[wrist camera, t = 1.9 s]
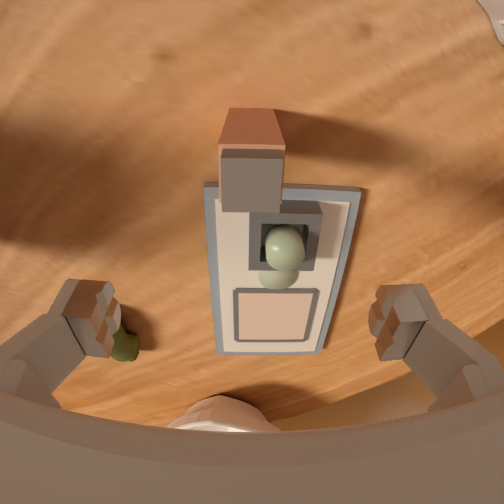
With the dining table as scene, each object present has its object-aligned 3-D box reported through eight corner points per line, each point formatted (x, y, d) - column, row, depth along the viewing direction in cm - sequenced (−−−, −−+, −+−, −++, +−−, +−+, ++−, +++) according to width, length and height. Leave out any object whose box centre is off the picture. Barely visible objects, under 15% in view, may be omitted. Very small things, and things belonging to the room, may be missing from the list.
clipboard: (358, 187, 28) (362, 194, 27) (319, 348, 43) (320, 356, 41) (204, 182, 28) (202, 189, 27) (217, 348, 42) (216, 356, 41)
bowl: (212, 365, 45) (208, 416, 38) (304, 404, 53) (308, 445, 47) (148, 403, 54) (141, 442, 47) (231, 433, 62) (230, 468, 56)
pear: (97, 332, 32) (146, 368, 39) (106, 295, 36) (150, 334, 43) (67, 339, 33) (116, 372, 40) (76, 304, 37) (120, 341, 44)
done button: (303, 224, 27) (307, 240, 25) (299, 254, 29) (302, 271, 27) (265, 223, 27) (267, 239, 25) (264, 253, 29) (265, 270, 27)
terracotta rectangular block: (273, 108, 24) (288, 154, 15) (271, 148, 26) (283, 217, 17) (229, 108, 24) (215, 153, 15) (229, 147, 26) (217, 216, 17)
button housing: (317, 200, 28) (323, 214, 26) (309, 255, 31) (313, 270, 29) (249, 198, 28) (249, 212, 26) (248, 254, 31) (248, 270, 29)
